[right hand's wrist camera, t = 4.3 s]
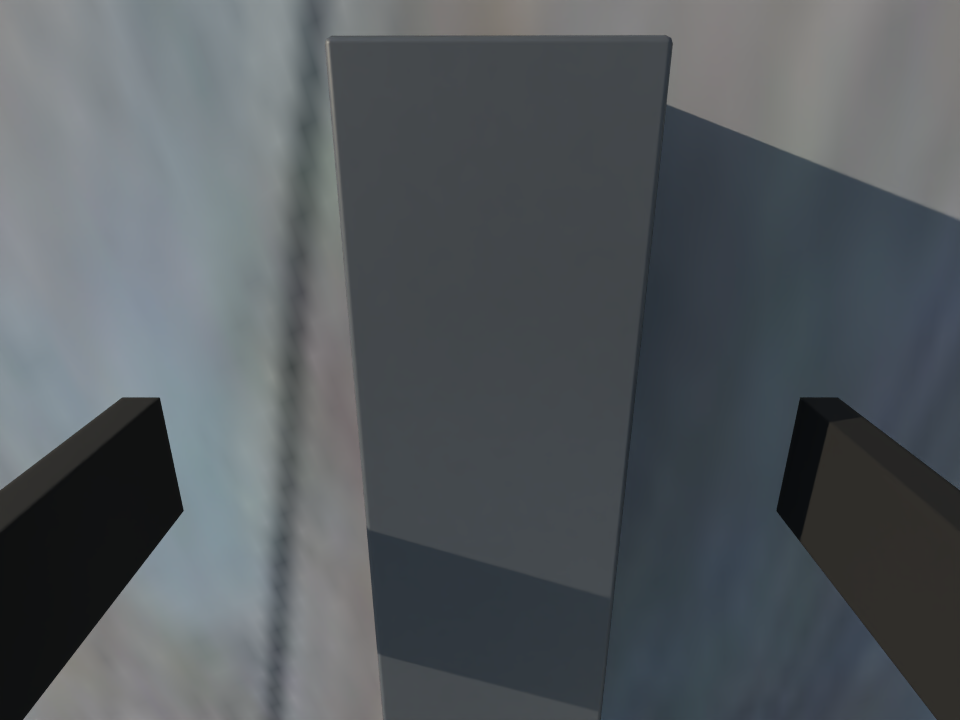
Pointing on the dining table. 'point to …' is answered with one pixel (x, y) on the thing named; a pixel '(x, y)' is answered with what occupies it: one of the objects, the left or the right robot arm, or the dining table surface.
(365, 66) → the plank
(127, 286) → the dining table surface
